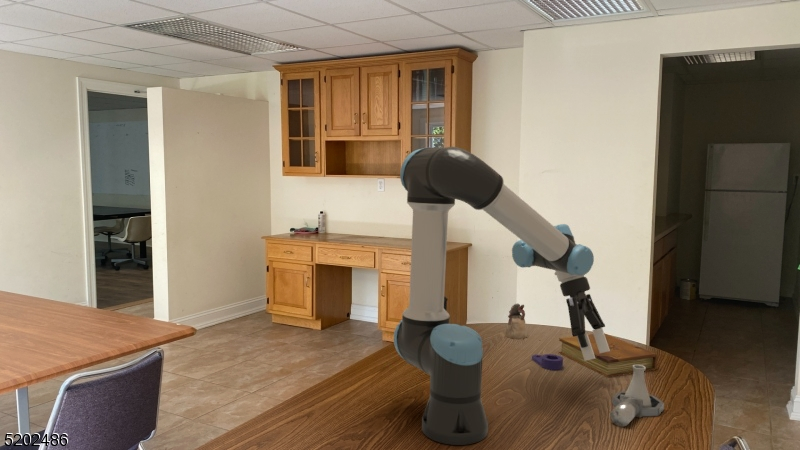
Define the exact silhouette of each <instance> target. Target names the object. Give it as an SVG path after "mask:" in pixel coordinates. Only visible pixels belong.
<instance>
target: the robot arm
mask: <svg viewBox="0 0 800 450" xmlns="http://www.w3.org/2000/svg"><path fill="white" fill-rule="evenodd" d="M399 177H400V178H399V179H400V182H401V185H402V186H403V188H404V189H405V191H406V193H407V195H406V196H407V197H406V198H407V199H406V204H408V206H409V207H410V208H411V209H412V227H411V246H410V247H411V252H410V253H411V254H410V273H409V275H410V276H409V278H410V279H409V294H408V297H409V299H408V301H409V302H408V307H406V309H405V310H403V312H402V314H401V315H402V317H401V320H399V324H397V325H396V327H395V329H394V332H393V345H394V347H395V350H396V352H397V353H398V355H399V356H400V357H401V358H402V359H403V360H404V361H405V362H406V363H407V364H409V365H411V366H414V367H415V368H417V369H418V370H420V371H422V372H424V373H425V374H427V375H429V376H430V377H429V380H430V381H429V397H428V400H427V404H426V406H425V409H424V411H423V414H422V418H421V431H422V433H423V434H424V435H425V436H426V437H427V438H429V439H431V440H432V441H434V442H437V443H440V444H446V445H452V446H465V445H471V444H475V443H479V442H481V441H482V440H484V439H485V438H486V437H487V436H488V433H489V430H488V429H489V422H488V419H487V416H486V412H485V408H484V405H483V401H482V378H483V377H482V376H483V375H482V373H483V358H484V357H483V356H484V350H483V340H482V337H481V335H480V334H479V333H478V331H476V330H475V329H473V328H471V327H469V326H466V325H460V324H458V323H450V313H449V312H448V311H446V310H445V309H444V296H445V290H446V289H445V288H446V287H445V286H446V284H445V283H446V269H447V267H446V265H447V263H446V262H447V245H448V242H447V240H448V225H449V224H448V222H449V221H448V220H449V211H450V210H452V208H453V207H454V206H455V205H456V200H457V201H458V200H459V201H460V202H463V203H466V204H467V205H469V206H471V208H472V209H474V210H476V211H483V212H485V213H486V214H488V215H489V216H491V218H493V219H494V220H495V221H497V222H498V223H499V224H500V225H502V226H503V227H504V228H505V229H507V230H508V231H510V232H511V233H512V234H513V235H515V236H516V237H517V238H518V239H520V240H517V241H515V242H514V244H513V245H512V248H511V254H512V255H511V257H512V259H513V261H514V263H515V265H516V266H518V267H520V268H523V269H524V268H531V267H537V268H538V267H539V268H544V269H548V270H551V271H552V270H553V271H555V272H554V276H556V277H557V280H558V282H559V283H560V285H559V287H560V290H561V291H560V292H561V293H562V295H563V296H564V297H569V298H566V299H565V300H566V301H565V302H566V305H567V309H568V314H569V315H568V316H569V322H570V327H571V329H570V330H571V334H572V336H573V337H575V336H577V339H578V342H579V345H580V348H581V351H582V354H583V357H584V360H585V361H586V360H591V359H595V355H594V352H593V349H592V346H591V343H590V340H589V337H588V335H589V333H586V322H585V318H586V320H587V322H588V323H589V325H590V327H592V334H594V337H595V340H596V343H597V346H598V349H599V352H600V353H604V352H608V351H610V349H609V346H608V343H607V340H606V337H605V334H606V333H605V332H604V329H603V328H605V327H606V325H605V323H604V321H603V319H602V318H601V316H600V313H599V311H598V309H597V308H596V307H597V306H595V302H593V299H592V297H591V296H592V295H591V294H590V293H588V294H586V292H587V291H590V290H591V286H590V284H589V281H588V278H587V277H586V276H585V275H587V274H588V273H589V272H590V271H591V269H592V267H593V266H594V265H593V264H594V260H595V258H594V253H593V251H592V249H591V248H590V247H588V246H585V245H583V244H577V243H576V241H575V237H574V235H573V233H572V230H571V228H570V226H569V225H568V224H565V223H561V224H557V225H553V224H552V223H550V222H549V221H548V220H547V219H546V218H544V217H543V216H542V215H541V214H540V213H539V212H537V210H535V209H534V208H533V207H532V206H531V205H529V204H528V203H527V202H526V201H525V200H524V199H522V198H521V197H520V196H518V195H517V193H515V192H514V191H513V190H511V189H510V188H509V187H508V186H507V185H506V184H504V183H505V181H504V178H503V176H502V175H501V174H500V173H498V172H497V171H496V170H495V169H494V168H493V167H491V166H490V164H488V163H486V162H485V161H484V160H482V159H481V158H479V157H478V156H476V155H475V154H473V153H472V152H470V151H468V150H466V149H464V148H460V147H457V146H447V147H446V146H445V147H431V146H430V147H423V148H419V149H416V150H413V151H412V152H411V153H409V154H408V155H407V156H406V157H405V159H404V160H403V162H402V163H401V167H400V172H399ZM604 333H605V334H604Z"/></svg>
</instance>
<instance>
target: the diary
mask: <svg viewBox="0 0 800 450" xmlns="http://www.w3.org/2000/svg"><path fill="white" fill-rule="evenodd" d="M604 334H605V337H606V340H607V343H608V346H609V349H610V351H608V352H604V353H600V352H599V349H598V346H597V343H596V340H595V337H594V334H593V333H590V334H589V333H588V337H589V340H590V343H591V346H592V349H593V352H594V355H595V359H591V360H586V361H585V360H584V357H583V354H582V351H581V348H580V345H579V342H578V339H577V336H575V337H573V335H572V336H566V337H565V336H564V337H559V339H558V341H559V342H561V351H558V354H559V353H560V354H559V355H560V356H561V355H562V356H563V357H566V358H567V359H569V360H572V361H573V362H576V363H577V364H580V365H581V366H583V367H586V368H587V369H589V370H591V371H593V372H596V373H598V374H599V375H602V376H604V377H606V378H612V376H613V377H618V376H617V375H620V376H624V375H623V374H627V375H630V374H629V373H633V372H634V369H633V365H643V366H645V367H646V370H645V371H647V372H650V371H649V370H653V371H656V370H657V369H658V358H659V356H658V355H657V354H656V353H655V352H652V351H650V350H648V349H645V348H642V347H639V346H638V345H634V344H632V343H629V342H627V341H624V340H622V339H620V338H617V337H616V336H615V337H614V336H612V335H609V334H607V333H605V332H604ZM655 369H656V370H655Z"/></svg>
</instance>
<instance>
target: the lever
mask: <svg viewBox="0 0 800 450" xmlns="http://www.w3.org/2000/svg"><path fill="white" fill-rule="evenodd" d="M531 361H533V362H534V363H535V364H537V365H538V366H540V368H543V369H544V370H546V371H547V370H548V371H552V372H553V371H554V372H555V371H561V370H563V369H564V364H563V363H564V357H562V356H561V355H558V354H551V353H550V354H549V353H546V354H543V355H542V354H533V355H531Z"/></svg>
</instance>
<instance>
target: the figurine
mask: <svg viewBox="0 0 800 450" xmlns="http://www.w3.org/2000/svg"><path fill="white" fill-rule="evenodd" d="M524 309H525V305H524V304H519V302H518V303H514V304H513V305H511V308H510V310H509V311H508V312H509V315H507V318H508V322H507V326H506V331H505V333H506V334H505V335H506V338H509V339H512V340H513V339H514V340H522V339H525V338H527V334H528V333H527V332H528V331H527V323H526V320H525V319H526V318H525V317H526V313H525V310H524Z"/></svg>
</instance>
